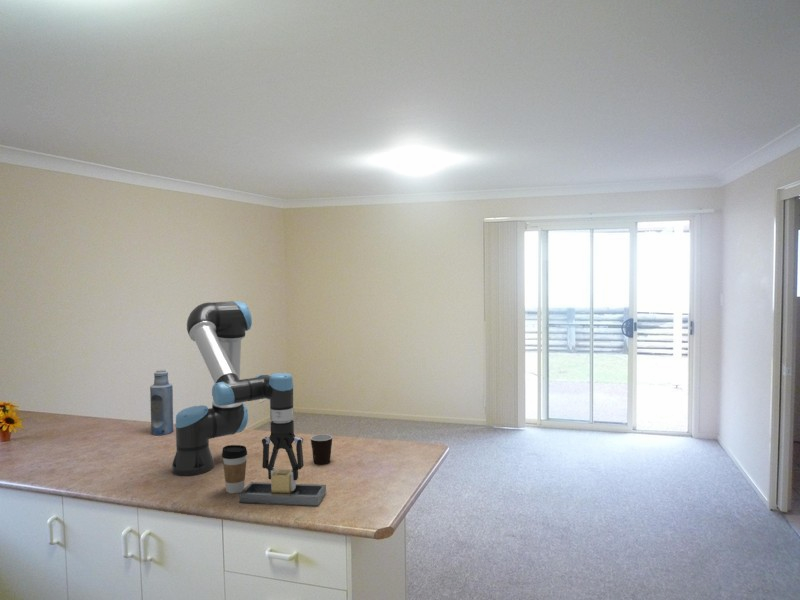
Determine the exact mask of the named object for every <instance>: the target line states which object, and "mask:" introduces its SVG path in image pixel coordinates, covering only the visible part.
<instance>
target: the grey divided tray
mask: <svg viewBox="0 0 800 600" xmlns="http://www.w3.org/2000/svg"><path fill="white" fill-rule="evenodd" d="M326 495H327V485H326V484H313V483H312V484H311V483H310V484H309V483H296V488H295V489H294V491H291V493H290V494H272V490H271V482H262V481H260V482H259V481H258V482H257V481H255V482H254V481H250V482H249V484H247V486H245V487H244V490H243V491H241V492H239V494H238V503H240V504H254V505H256V504H258V505H259V504H260V505H279V506H280V505H282V506H301V507H303V506H304V507H305V506H306V507H319V506H320V504H321V502H322V501H323V499H324V498H325V496H326Z"/></svg>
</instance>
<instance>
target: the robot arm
mask: <svg viewBox="0 0 800 600" xmlns="http://www.w3.org/2000/svg"><path fill="white" fill-rule="evenodd" d="M252 321H253V320H252V314H251V311H250V308H249V307H248V305H247V304H246V303H245V302H243V301H233V300H231V301H218V302H217V301H216V302H214V301H213V302H211V301H210V302H203V303H200V304H198V305H197V306H195V307H194V308H193V309H192V311H191V312H190V313H189V316H188V318H187V321H186V330H187V333H188V336H189V338H190V340H192V341H193V342H195V344H196V346H197V349H198V351H199V353H200V355H201V356H202V358H203V362H204V363H205V365H206V367H207V370H208V372H209V374H210V375H211V378H212V380H213V382H214V384H213V385H212V388H211V395H212V406H211V407H210V408H209V407H208V406H207V405H194V406H190V407H187V408H184V409H181V410H180V411H178V413H177V414H176V415H175V423H174V424H175V425H174V426H175V438H176V439H175V441H176V443H175V444H176V452H175V455H174V458H173V461H172V464H171V471H172V474H173V475H175V476H176V475H177V476H183V477H184V476H195V475H200V474H201V475H202V474H203V473H207V472H209V471H211V470H213V468H214V467H215V460H214V456H213V455H212V451H211V449H210V447H209V446H210V444H209V443H210V440H211V439H215V438H221V437H225V436H232V435H235V434H238V433H241V432H243V431H244V430H245V428H246V427H247V425H248V421H249V412H248V407H247V405H246V404H245V402H252V401H258V400H265V399H267V400H269V409H270V410H269V411H270V412H269V414H270V415H269V416H270V417H269V419H270V436H268V437H267V436H264V438H262V439H261V443H262V464H261V467H262V469H266V470H267V473H268V474H267V475H268V480H271V475H272V474H273V473H274V472H275V471H276V470H277V468H276V467H275V463H276V460H277V457H278V452H279V450H280V449H283V450H285V452H286V454H287V457H288V459H289V463H290V466H291V468H292V470H291V491H294V489H295V488H296V484H297V483H296V481H298V479H299V470H302V468H303V467H304V465H305V464H304V454H303V453H304V452H303V443H304V439H303V437H296V434H295V428H294V427H295V425H294V424H295V423H294V420H293V419H294V418H295V417H294V383H293V381H294V380H293V375H292V374H291V373H289V372H278V373H277V372H276V373H272V374H271V375H269V374H259V375H257V376H255V377H251V378H250V377H249V378H243V379H240V378H241V358H242V357H241V355H242V352H241V350H242V340H243V339H244V338H245V337H246V332H248V331H249V330H251V328H252V324H253V323H252ZM293 443H294V444H295V446H296V447H295V449H296V456H295V452H294V448H293V447H294V446H293ZM270 444H273V447H272V452H271V456H270ZM269 459H270V460H269ZM271 490H272V487H271Z"/></svg>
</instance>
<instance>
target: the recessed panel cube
mask: <svg viewBox="0 0 800 600" xmlns="http://www.w3.org/2000/svg"><path fill="white" fill-rule="evenodd" d="M291 470H292V469H287V468H276V471H275V472H274V473H273V474H272V475H271V479H270V483H271V487H272V494H290V493H291Z"/></svg>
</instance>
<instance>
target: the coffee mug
mask: <svg viewBox="0 0 800 600" xmlns="http://www.w3.org/2000/svg"><path fill="white" fill-rule="evenodd" d="M310 443H311V444H310V445H311V452H312V460H313V461H312V462H313V464H314V465H316V466H325V465H328V464H330V463H331V458H332V456H331V455H332V447H333V446H332V445H333V436H332V435H330V434H328V433H326V434H325V433H322V434H315V435H312V436H311V437H310Z"/></svg>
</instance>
